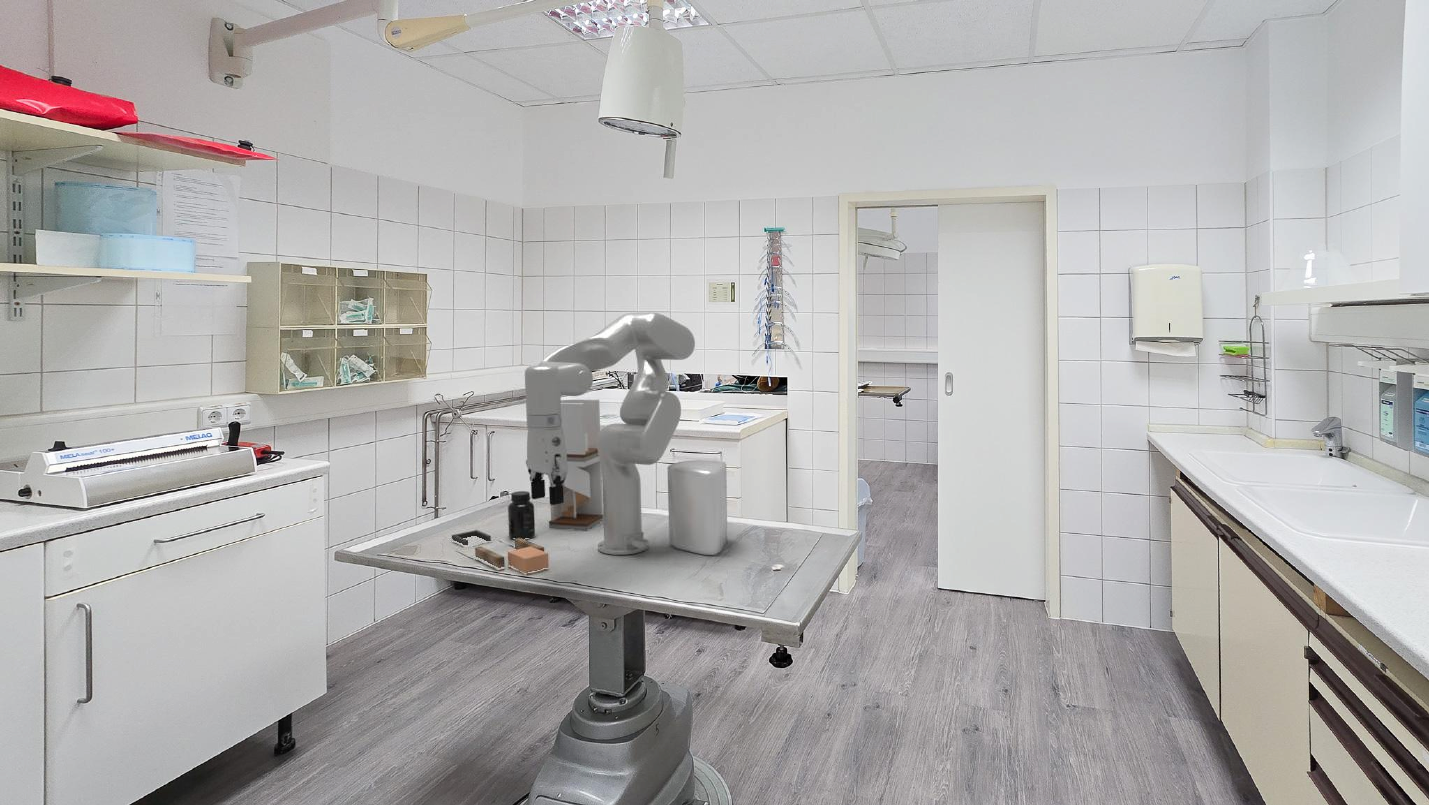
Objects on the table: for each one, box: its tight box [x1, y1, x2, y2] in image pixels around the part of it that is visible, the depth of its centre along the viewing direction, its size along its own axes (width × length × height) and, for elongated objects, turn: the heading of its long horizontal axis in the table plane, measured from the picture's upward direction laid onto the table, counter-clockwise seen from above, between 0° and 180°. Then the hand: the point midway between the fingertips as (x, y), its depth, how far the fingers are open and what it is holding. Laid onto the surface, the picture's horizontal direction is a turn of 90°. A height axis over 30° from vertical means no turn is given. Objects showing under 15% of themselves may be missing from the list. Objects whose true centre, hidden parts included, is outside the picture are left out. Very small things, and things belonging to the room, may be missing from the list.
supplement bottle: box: [507, 490, 536, 539], centre depth 210 cm, size 7×7×12 cm
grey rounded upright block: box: [667, 459, 728, 556], centre depth 198 cm, size 15×14×22 cm
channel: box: [474, 538, 545, 568], centre depth 191 cm, size 12×12×3 cm
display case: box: [548, 398, 604, 532], centre depth 220 cm, size 11×11×35 cm
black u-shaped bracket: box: [451, 529, 492, 545], centre depth 207 cm, size 8×7×2 cm
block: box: [507, 546, 550, 573], centre depth 184 cm, size 8×6×4 cm
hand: (547, 500), depth 175 cm, fingers open, 7 cm apart
